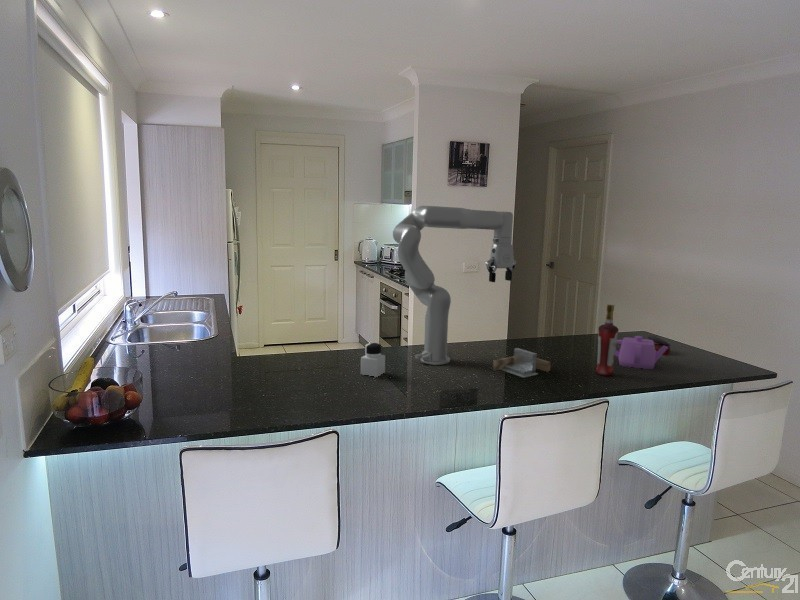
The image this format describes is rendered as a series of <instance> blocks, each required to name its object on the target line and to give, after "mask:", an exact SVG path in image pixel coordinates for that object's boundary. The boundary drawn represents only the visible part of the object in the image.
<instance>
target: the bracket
mask: <svg viewBox="0 0 800 600" xmlns="http://www.w3.org/2000/svg"><path fill="white" fill-rule="evenodd" d="M513 356H514V360H513V364H511V365H507V366H505V367H504V370H507V371H510V372H513V373H516V374H518V375H521V376H526V375H530V374H534V373H536V370H537V369H536V358H537V356H538V354H537V353H536V352H532V351H530V350H526V349H522V348H518V347H515V348H514V349H513Z"/></svg>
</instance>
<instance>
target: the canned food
mask: <svg viewBox="0 0 800 600" xmlns="http://www.w3.org/2000/svg"><path fill="white" fill-rule="evenodd" d="M647 339H648V340H653V342H654V347H655V352H657V351H658V350H659V349H660V348H662V347H663V345H664V346H667V347H668V348H667V350H666V351H665V352H664V353H663V354H662V356H669V355H670V354H671V344H670V343H668V342H667V341H666V340H663V339H662V338H660V337H658V336H656V335H653V334H649V335H648V336H647ZM668 354H669V355H668Z"/></svg>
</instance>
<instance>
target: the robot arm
mask: <svg viewBox="0 0 800 600" xmlns="http://www.w3.org/2000/svg"><path fill="white" fill-rule="evenodd" d="M513 215H514V214H513V212H511V211H497V210H496V211H495V210H480V209H470V208H464V207H454V206H453V207H451V206H436V205H420V206H418V207H416V208H415V209H414V210H412V211H411V212H410V213H408V215H406V217H404V218H403V219H401V221H399V223H398V224H397V225H395V226H394V228H393V231H392V238H393V240H394V241H395V242H396V243H398V246H397V247H398V248H397V257H398V260H399V263H400V265H401V266H402V267H403V269H404V270H405V271H404V279H405V283H407V285H408V286H409V288H410V289H411V291H412V293H413V294H414V295H415V296H416V298H417V300H418V301H419V302H420V303H422V304H423V305H424V306H426V307H427V308H426V312H425V317H424V342H423V343H424V345H423V347H424V349H423V350H422V351H421V353H417V354H415V355H414V359H415V360H420V362H421V363H423V364H426V365H430V366H431V365H432V366H433V365H434V366H440V365H441V366H442V365H448V364H449V363H451V358H450V357H449V356H448V355H447V353H448V352H447V351H448V333H449V329H448V328H449V326H448V325H449V324H448V323H449V313H450V307H451V303H452V300H451V294H450V293H449V291H448V289H447V290H446V289H445V288H444V287H442V286H438V285H436V284H435V280H436V279H435V275H434V273H433V271H432V270H431V268H430V267H429V266H428V263H426V261H425V260H424V259H423V257H422V255H421V253H420V251H419V246H420V242H421V239H422V233H421V231H422V230H423V229H424V228H426V227H427V228H437V229H440V228H441V229H457V230H459V229H460V230H465V229H466V230H467V229H468V230H471V229H473V230H491V231H492V230H493V239H492V242H493V243H492V245H491V251H490V256H489V260H487V261H486V262H485V266H486V269H487V271H488V282H491V283H496V275H497V273H496V271H497V269H505V275H504V280H505V281H508V282H509V281H510V282H511V281H512V279H513V276H512V275H513V271H514V269H515V265H516V264H517V260H516V259H514V258H515V256H514V254H515V253H514V246H513V245H514V244H512V239H513V221H514V220H513V219H514V216H513Z"/></svg>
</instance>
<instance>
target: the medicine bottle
mask: <svg viewBox="0 0 800 600" xmlns="http://www.w3.org/2000/svg"><path fill="white" fill-rule="evenodd" d="M364 352H365V355H363V356H360V375H361V374H362V375H361V376H364V375H369V376H368V377H370V376H374V377H373V378H376V377H377V378H379V377H380V376H382V375H383V373H384V374H385V373H386V355H385V354H382V345H381V344H380V343H378V342H369V343H366V344H365V349H364ZM381 374H382V375H381ZM378 376H379V377H378Z"/></svg>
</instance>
